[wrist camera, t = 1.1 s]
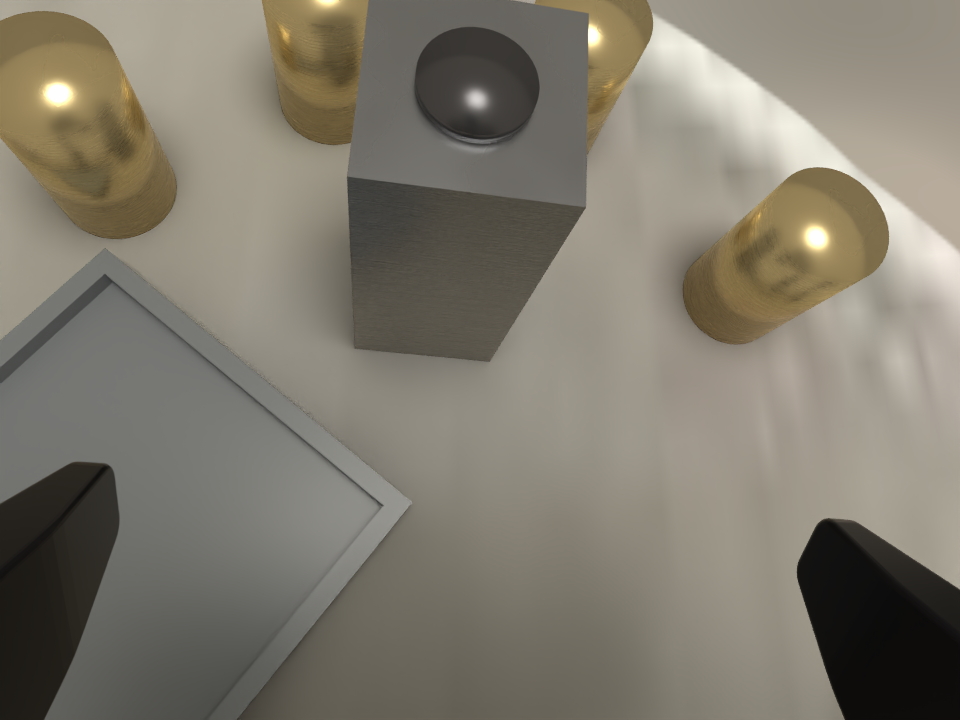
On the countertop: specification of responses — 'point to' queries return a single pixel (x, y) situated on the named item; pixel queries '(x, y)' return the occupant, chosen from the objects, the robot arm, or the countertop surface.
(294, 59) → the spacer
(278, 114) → the countertop surface
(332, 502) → the tray
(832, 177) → the cylinder
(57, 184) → the cylinder
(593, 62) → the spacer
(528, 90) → the pillar with dark dome
